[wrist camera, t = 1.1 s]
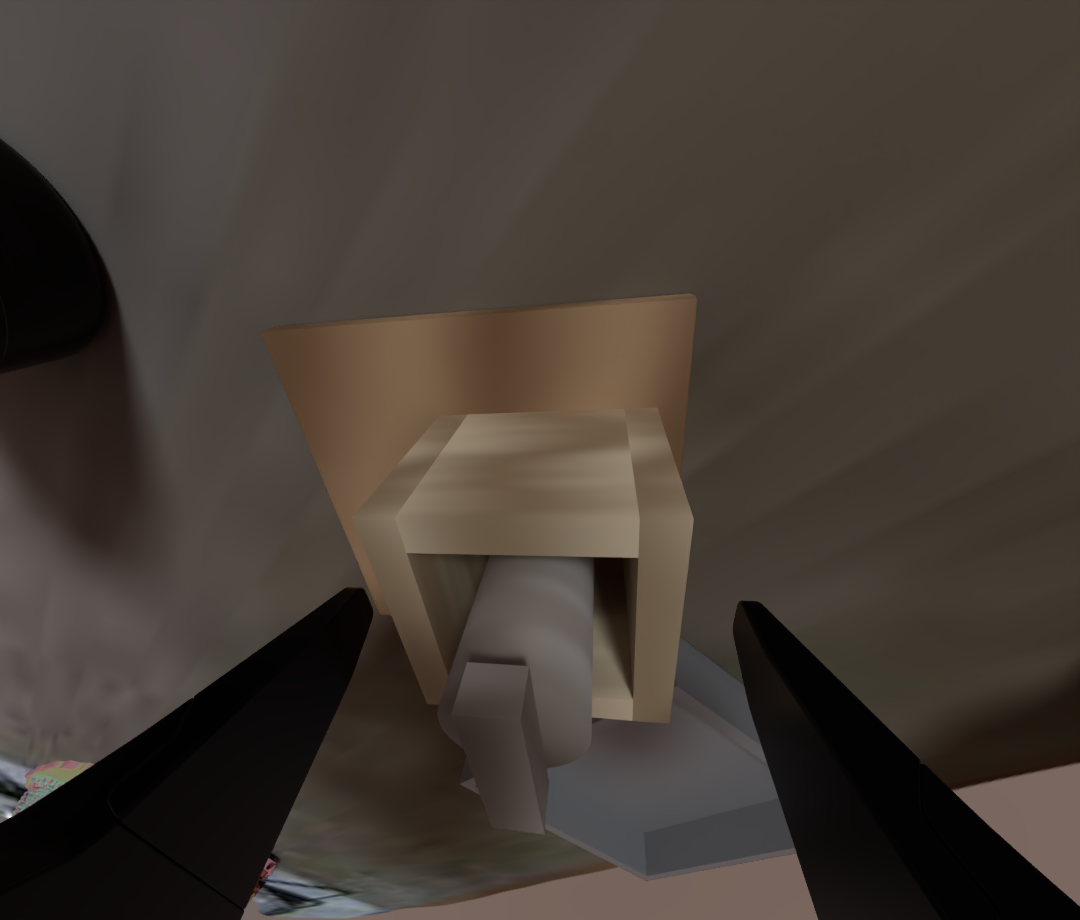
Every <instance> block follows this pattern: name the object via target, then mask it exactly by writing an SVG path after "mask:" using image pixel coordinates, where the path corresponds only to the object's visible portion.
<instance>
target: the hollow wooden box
mask: <svg viewBox="0 0 1080 920" xmlns="http://www.w3.org/2000/svg"><path fill="white" fill-rule="evenodd" d="M352 519H353V522H354V524H355V527H356V529H357V532H358V534H359V537H360V539H361V542H362V544H363V547H364V549H365V551H366V554H367V556H368V559H369V561H370V564H371V566H372V569H373V571H374V574H375V576H376V579H377V581H378V584H379V586H380V589H381V591H382V594H383V596H384V599H385V601H386V604H387V606H388V608H389V611H390V613H391V616H392V618H393V621H394V623H395V626H396V628H397V631H398V633H399V636H400V638H401V641H402V643H403V646H404V648H405V651H406V653H407V656H408V658H409V661H410V663H411V665H412V668H413V670H414V673H415V675H416V678H417V680H418V683H419V685H420V688H421V690H422V693H423V695H424V698H425V700H426V703H427V704H434V705H439V703H440V700H441V698H442V695H443V692H444V689H445V686H446V683H447V680H448V677H449V674H450V671H451V668H452V665H453V662H454V659H455V656H456V653H457V650H458V647H459V644H460V641H461V638H462V635H463V632H464V629H465V626H466V623H467V620H468V617H469V614H470V611H471V608H472V605H473V602H474V599H475V596H476V593H477V590H478V587H479V584H480V581H481V578H482V576H483V573H484V570H485V567H486V564H487V561H488V558H489V555H522V556H572V557H594V599H593V667H592V718H605V719H617V720H629V721H641V722H653V723H666V724H669V723H670V714H671V706H672V698H673V689H674V681H675V672H676V664H677V656H678V647H679V639H680V631H681V622H682V614H683V606H684V597H685V589H686V580H687V572H688V564H689V555H690V547H691V539H692V530H693V522H694V519H693V516H692V513H691V509H690V506H689V503H688V500H687V497H686V494H685V491H684V488H683V485H682V482H681V479H680V476H679V473H678V470H677V467H676V464H675V460H674V457H673V454H672V451H671V448H670V445H669V442H668V439H667V436H666V433H665V430H664V427H663V424H662V421H661V418H660V415H659V411H658V408H630V409H603V410H576V411H549V412H522V413H495V414H468V415H441V416H438V418H437V419H436V420H435V421H434V422H433V424H432V425H431V426H430V427H429V428H428V429H427V431H426V432H425V433H424V434H423V435H422V436H421V438H420V439H419V440H418V441H417V442H416V443H415V445H414V446H413V447H412V448H411V449H410V450H409V452H408V453H407V454H406V455H405V456H404V457H403V459H402V460H401V461H400V462H399V463H398V464H397V466H396V467H395V468H394V469H393V470H392V471H391V473H390V474H389V475H388V476H387V477H386V478H385V480H384V481H383V482H382V483H381V484H380V485H379V487H378V488H377V489H376V490H375V491H374V492H373V494H372V495H371V496H370V497H369V498H368V499H367V501H366V502H365V503H364V504H363V505H362V506H361V508H360V509H359V510H358V511H357V512H356V513H355V515H354V516H353V517H352Z"/></svg>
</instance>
